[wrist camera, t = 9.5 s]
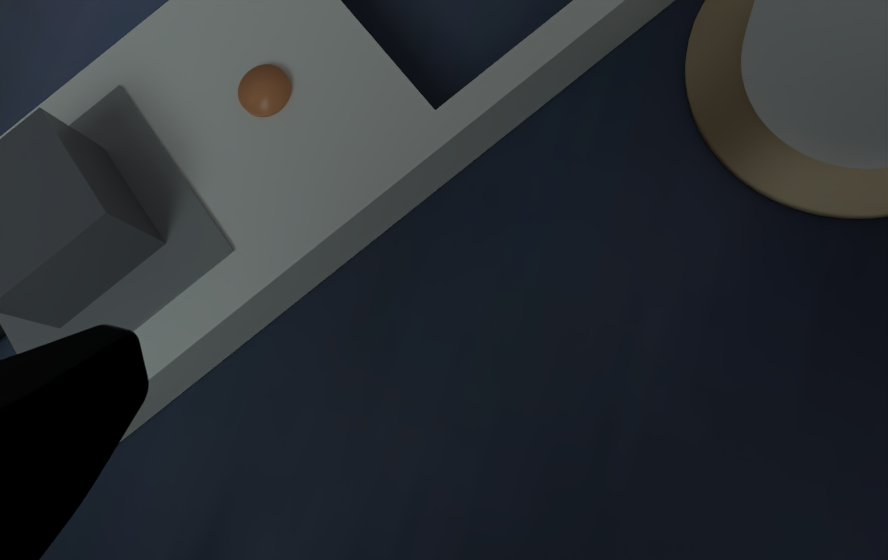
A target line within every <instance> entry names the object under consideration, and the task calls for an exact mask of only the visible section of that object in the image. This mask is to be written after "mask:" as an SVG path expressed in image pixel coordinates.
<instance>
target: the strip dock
mask: <svg viewBox="0 0 888 560" xmlns="http://www.w3.org/2000/svg"><path fill="white" fill-rule="evenodd" d="M674 1H675V0H573V1H572V2H570V3H569V4H568V5H567V6H565V7H564V8H563V9H562V10H560V11H559V12H558V13H557V14H555V15H554V16H553V17H552V18H550V19H549V20H548V21H547V22H545V23H544V24H543V25H542V26H540V27H539V28H538V29H537V30H535V31H534V32H533V33H532V34H530V35H529V36H528V37H527V38H525V39H524V40H523V41H522V42H520V43H519V44H518V45H517V46H515V47H514V48H513V49H512V50H510V51H509V52H508V53H507V54H505V55H504V56H503V57H502V58H500V59H499V60H498V61H497V62H495V63H494V64H493V65H492V66H490V67H489V68H488V69H486V70H485V71H484V72H483V73H481V74H480V75H479V76H478V77H476V78H475V79H474V80H473V81H471V82H470V83H469V84H468V85H466V86H465V87H464V88H463V89H461V90H460V91H459V92H458V93H456V94H455V95H454V96H453V97H451V98H450V99H449V100H448V101H446V102H445V103H444V104H443V105H441V106H440V107H439V108H438V109H436V110H434V109H433V107H432V106H431V105H430V104H429V103H428V102H427V100H426V99H425V98H424V97H423V96H422V95H421V93H420V92H419V91H418V90H417V89H416V88H415V86H414V85H413V84H412V83H411V82H410V81H409V79H408V78H407V77H406V76H405V75H404V74H403V72H402V71H401V70H400V69H399V68H398V67H397V65H396V64H395V63H394V62H393V61H392V60H391V58H390V57H389V56H388V55H387V54H386V53H385V51H384V50H383V49H382V48H381V47H380V46H379V44H378V43H377V42H376V41H375V40H374V39H373V37H372V36H371V35H370V34H369V33H368V32H367V30H366V29H365V28H364V27H363V26H362V25H361V23H360V22H359V21H358V20H357V19H356V18H355V16H354V15H353V14H352V13H351V12H350V11H349V9H348V8H347V7H346V6H345V5H344V4H343V2H342V1H341V0H169V1H168V2H166V3H165V4H164V5H163V6H162V7H160V8H159V9H158V10H157V11H155V12H154V13H153V14H152V15H150V16H149V17H148V18H147V19H145V20H144V21H143V22H142V23H140V24H139V25H138V26H137V27H135V28H134V29H133V30H132V31H131V32H129V33H128V34H127V35H126V36H124V37H123V38H122V39H121V40H119V41H118V42H117V43H116V44H114V45H113V46H112V47H111V48H109V49H108V50H107V51H106V52H104V53H103V54H102V55H101V56H100V57H98V58H97V59H96V60H95V61H93V62H92V63H91V64H90V65H88V66H87V67H86V68H85V69H83V70H82V71H81V72H80V73H78V74H77V75H76V76H75V77H73V78H72V79H71V80H70V81H69V82H67V83H66V84H65V85H64V86H62V87H61V88H60V89H59V90H57V91H56V92H55V93H54V94H52V95H51V96H50V97H49V98H47V99H46V100H45V101H44V102H42V103H41V104H40V105H39V106H38V107H36V108H35V109H34V110H33V111H31V112H30V113H29V114H28V115H26V116H25V117H24V118H23V119H21V120H20V121H19V122H18V123H16V124H15V125H14V126H13V127H11V128H10V129H9V130H8V131H7V132H5V133H4V134H3V135H2V136H0V139H1V138H2V137H3V136H5V135H6V134H7V133H8V132H10V131H11V130H12V129H13V128H15V127H16V126H17V125H18V124H19V123H21V122H22V121H23V120H24V119H26V118H27V117H28V116H29V115H31V114H32V113H33V112H34V111H36V110H37V109H38V108H39V107H40V108H42V109H43V110H45V111H46V112H48V113H50V114H51V115H53V116H54V117H56V118H57V119H59V120H60V121H62V122H64V123H65V124H67V125H68V126H70V127H71V128H73V129H75V130H76V131H78V132H79V133H81V134H82V135H84V136H86V137H87V138H89V139H90V140H92V141H93V142H95V143H97V144H98V145H100V146H101V147H103V148H104V149H105V151H106V152H107V154H108V155H109V157H110V158H111V160H112V161H113V163H114V164H115V166H116V167H117V169H118V171H119V172H120V174H121V175H122V177H123V178H124V180H125V181H126V183H127V184H128V186H129V187H130V189H131V190H132V192H133V194H134V195H135V197H136V198H137V200H138V201H139V203H140V204H141V206H142V207H143V209H144V210H145V212H146V213H147V215H148V217H149V218H150V220H151V221H152V223H153V224H154V226H155V227H156V229H157V230H158V232H159V233H160V235H161V236H162V238H163V240H164V241H165V243H166V244H165V245H164V246H162V247H161V248H160V249H159V250H157V251H156V252H155V253H154V254H152V255H151V256H150V257H149V258H147V259H146V260H145V261H144V262H142V263H141V264H140V265H139V266H137V267H136V268H135V269H134V270H132V271H131V272H130V273H129V274H127V275H126V276H125V277H124V278H122V279H121V280H120V281H119V282H117V283H116V284H115V285H114V286H112V287H111V288H110V289H109V290H107V291H106V292H105V293H104V294H102V295H101V296H100V297H99V298H97V299H96V300H95V301H94V302H92V303H91V304H90V305H89V306H87V307H86V308H85V309H84V310H82V311H81V312H80V313H79V314H77V315H76V316H75V317H74V318H72V319H71V320H70V321H69V322H67V323H66V324H65V325H64V326H62V327H61V328H56V327H52V326H48V325H44V324H40V323H36V322H33V321H29V320H25V319H21V318H17V317H13V316H9V315H6V314H2V313H0V324H1V326H2V328H3V330H4V331H5V333H6V335H7V337H8V339H9V341H10V342H11V344H12V346H13V348H14V350H15V352H16V354H19V353H22V352H25V351H28V350H30V349H33V348H36V347H39V346H41V345H44V344H47V343H50V342H53V341H55V340H58V339H61V338H64V337H67V336H69V335H72V334H75V333H78V332H80V331H83V330H86V329H89V328H92V327H94V326H97V325H101V324H109V325H113V326H117V327H121V328H125V329H129V330H131V331H133V332H135V334H136V335H137V336H138V338H139V341H140V345H141V349H142V354H143V358H144V362H145V367H146V371H147V375H148V381H149V388H148V393H147V396H146V399H145V401H144V403H143V405H142V406H141V408H140V409H139V411H138V413H137V414H136V416H135V418H134V419H133V421H132V422H131V424H130V426H129V427H128V429H127V431H126V432H125V434H124V435H123V437H122V439H121V440H120V442H121V441H122V440H124V439H125V438H126V437H127V436H129V435H130V434H131V433H132V432H134V431H135V430H136V429H137V428H139V427H140V426H141V425H142V424H144V423H145V422H146V421H147V420H149V419H150V418H151V417H152V416H154V415H155V414H156V413H158V412H159V411H160V410H161V409H163V408H164V407H165V406H166V405H168V404H169V403H170V402H171V401H173V400H174V399H175V398H176V397H178V396H179V395H180V394H181V393H183V392H184V391H185V390H186V389H188V388H189V387H190V386H191V385H193V384H194V383H195V382H196V381H198V380H199V379H200V378H201V377H203V376H204V375H205V374H206V373H208V372H209V371H210V370H212V369H213V368H214V367H215V366H217V365H218V364H219V363H220V362H222V361H223V360H224V359H225V358H227V357H228V356H229V355H230V354H232V353H233V352H234V351H235V350H237V349H238V348H239V347H240V346H242V345H243V344H244V343H245V342H247V341H248V340H249V339H250V338H252V337H253V336H254V335H255V334H257V333H258V332H259V331H260V330H262V329H263V328H264V327H266V326H267V325H268V324H269V323H271V322H272V321H273V320H274V319H276V318H277V317H278V316H279V315H281V314H282V313H283V312H284V311H286V310H287V309H288V308H289V307H291V306H292V305H293V304H294V303H296V302H297V301H298V300H299V299H301V298H302V297H303V296H304V295H306V294H307V293H308V292H309V291H311V290H312V289H313V288H314V287H316V286H317V285H318V284H320V283H321V282H322V281H323V280H325V279H326V278H327V277H328V276H330V275H331V274H332V273H333V272H335V271H336V270H337V269H338V268H340V267H341V266H342V265H343V264H345V263H346V262H347V261H348V260H350V259H351V258H352V257H353V256H355V255H356V254H357V253H358V252H360V251H361V250H362V249H363V248H365V247H366V246H367V245H368V244H370V243H371V242H372V241H373V240H375V239H376V238H377V237H379V236H380V235H381V234H382V233H384V232H385V231H386V230H387V229H389V228H390V227H391V226H392V225H394V224H395V223H396V222H397V221H399V220H400V219H401V218H402V217H404V216H405V215H406V214H407V213H409V212H410V211H411V210H412V209H414V208H415V207H416V206H417V205H419V204H420V203H421V202H422V201H424V200H425V199H426V198H427V197H429V196H430V195H431V194H433V193H434V192H435V191H436V190H438V189H439V188H440V187H441V186H443V185H444V184H445V183H446V182H448V181H449V180H450V179H451V178H453V177H454V176H455V175H456V174H458V173H459V172H460V171H461V170H463V169H464V168H465V167H466V166H468V165H469V164H470V163H471V162H473V161H474V160H475V159H476V158H478V157H479V156H480V155H481V154H483V153H484V152H485V151H487V150H488V149H489V148H490V147H492V146H493V145H494V144H495V143H497V142H498V141H499V140H500V139H502V138H503V137H504V136H505V135H507V134H508V133H509V132H510V131H512V130H513V129H514V128H515V127H517V126H518V125H519V124H520V123H522V122H523V121H524V120H525V119H527V118H528V117H529V116H530V115H532V114H533V113H534V112H535V111H537V110H538V109H539V108H541V107H542V106H543V105H544V104H546V103H547V102H548V101H549V100H551V99H552V98H553V97H554V96H556V95H557V94H558V93H559V92H561V91H562V90H563V89H564V88H566V87H567V86H568V85H569V84H571V83H572V82H573V81H574V80H576V79H577V78H578V77H579V76H581V75H582V74H583V73H584V72H586V71H587V70H588V69H589V68H591V67H592V66H593V65H595V64H596V63H597V62H598V61H600V60H601V59H602V58H603V57H605V56H606V55H607V54H608V53H610V52H611V51H612V50H613V49H615V48H616V47H617V46H618V45H620V44H621V43H622V42H623V41H625V40H626V39H627V38H628V37H630V36H631V35H632V34H633V33H635V32H636V31H637V30H638V29H640V28H641V27H642V26H643V25H645V24H646V23H647V22H649V21H650V20H651V19H652V18H654V17H655V16H656V15H657V14H659V13H660V12H661V11H662V10H664V9H665V8H666V7H667V6H669V5H670V4H671V3H672V2H674ZM120 442H119V443H120Z"/></svg>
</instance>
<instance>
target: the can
mask: <svg viewBox="0 0 888 560" xmlns="http://www.w3.org/2000/svg"><path fill="white" fill-rule="evenodd" d="M741 72H742V79H743V83H744V87H745V91H746V93H747V96H748V98H749V101H750V103H751V105H752V107H753V108H754V110H755V112H756V113H757V115H758V116H759V118H760V119H761V120H762V122H763V123H764V124H765V125H766V126H767V127H768V128H769V130H770V131H771V132H772V133H774V134H775V135H776V136H777V137H778V138H779V139H780V140H782V141H783V142H784V143H786V144H787V145H789V146H790V147H792V148H793V149H795V150H797V151H798V152H800V153H802V154H804V155H806V156H809V157H811V158H813V159H816V160H818V161H821V162H824V163H828V164H832V165H836V166H840V167H846V168H855V169H883V168H888V0H755V1H754V4H753V8H752V11H751V14H750V18H749V21H748V25H747V28H746V32H745V36H744V40H743V46H742V53H741Z"/></svg>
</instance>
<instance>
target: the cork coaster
mask: <svg viewBox="0 0 888 560" xmlns="http://www.w3.org/2000/svg"><path fill="white" fill-rule="evenodd" d="M754 1H755V0H705V2H704V3H703V5H702V7H701V9H700V11H699V13H698V15H697V18H696V20H695V22H694V25H693V28H692V31H691V35H690V38H689V42H688V48H687V54H686V61H685V87H686V94H687V101H688V104H689V108H690V111H691V114H692V118H693V120H694V122H695V124H696V126H697V129H698V131H699V133H700V135H701V137H702V138H703V140H704V141H705V143H706V144H707V146H708V147H709V149H710V150H711V152H712V153H713V154H714V155H715V156H716V158H717V159H718V160H719V161H720V162H721V163H722V165H723V166H724V167H725V168H726V169H727V170H729V171H730V172H731V173H732V174H733V175H734V176H735V177H737V178H738V179H739V180H740V181H741V182H743V183H744V184H746V185H747V186H749V187H750V188H752V189H753V190H755V191H756V192H758V193H759V194H761V195H763V196H765V197H767V198H769V199H771V200H773V201H775V202H777V203H780V204H782V205H785V206H788V207H790V208H793V209H796V210H799V211H803V212H807V213H811V214H815V215H819V216H826V217H834V218H842V219H870V218H880V217H888V168H883V169H855V168H846V167H840V166H836V165H832V164H828V163H824V162H821V161H818V160H816V159H813V158H811V157H809V156H806V155H804V154H802V153H800V152H798V151H797V150H795V149H793V148H792V147H790V146H789V145H787V144H786V143H784V142H783V141H782V140H780V139H779V138H778V137H777V136H776V135H775V134H774V133H772V132H771V131H770V130H769V128H768V127H767V126H766V125H765V124H764V123H763V122H762V120H761V119H760V118H759V116H758V115H757V113H756V112H755V110H754V108H753V107H752V105H751V103H750V101H749V98H748V96H747V93H746V91H745V87H744V83H743V79H742V72H741V53H742V46H743V40H744V36H745V32H746V28H747V25H748V21H749V18H750V14H751V11H752V8H753V4H754Z"/></svg>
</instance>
